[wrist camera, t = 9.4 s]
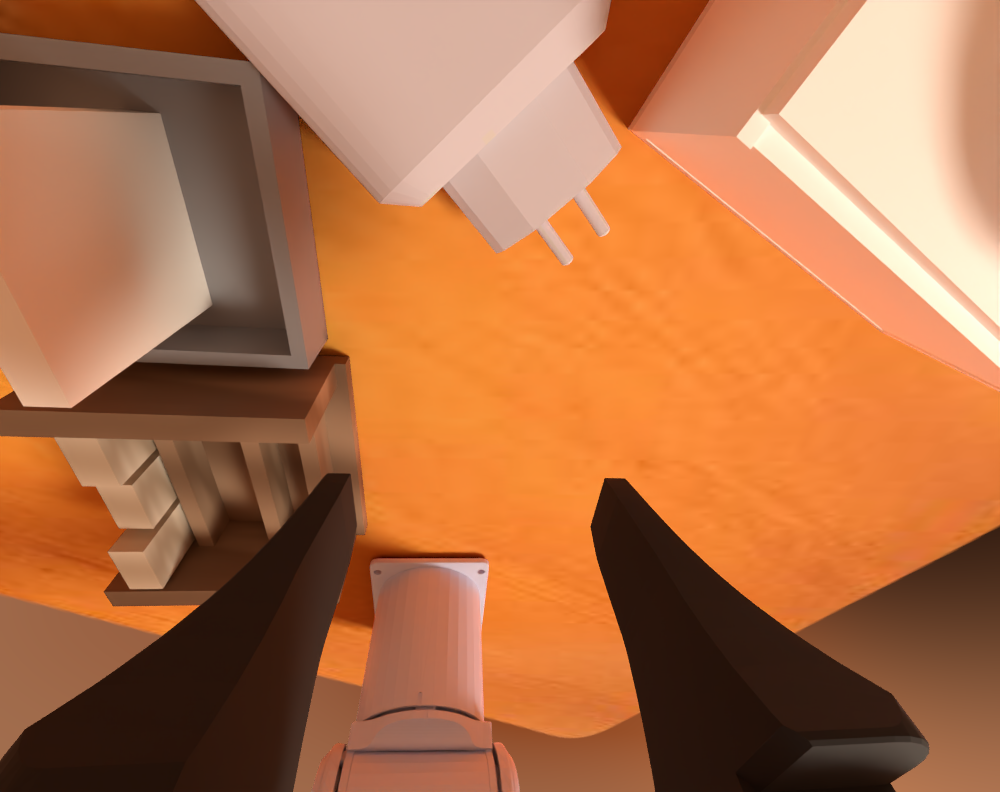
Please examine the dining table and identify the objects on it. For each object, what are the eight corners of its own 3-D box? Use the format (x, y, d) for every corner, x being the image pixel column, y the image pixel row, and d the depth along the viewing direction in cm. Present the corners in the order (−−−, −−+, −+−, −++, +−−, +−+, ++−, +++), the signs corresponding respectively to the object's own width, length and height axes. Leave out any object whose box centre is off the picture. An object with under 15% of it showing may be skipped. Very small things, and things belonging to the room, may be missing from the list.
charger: (493, 300, 20) (188, -50, 14) (666, 158, 18) (394, -370, 11) (500, 344, 16) (72, -120, 10) (725, 170, 14) (353, -656, 7)
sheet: (212, 304, 19) (71, 407, 12) (182, 303, 19) (23, 406, 12) (160, 113, 15) (-87, 106, 8) (122, 109, 15) (-159, 99, 8)
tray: (327, 338, 20) (308, 369, 18) (93, 326, 19) (37, 357, 17) (292, 72, 15) (257, 62, 13) (-37, 34, 14) (-148, 16, 11)
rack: (367, 524, 27) (348, 603, 23) (164, 523, 26) (102, 606, 22) (349, 356, 21) (318, 419, 17) (79, 344, 20) (-33, 408, 15)
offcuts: (208, 518, 25) (162, 588, 21) (180, 518, 25) (130, 589, 21) (155, 382, 20) (84, 442, 16) (120, 380, 20) (40, 441, 16)
